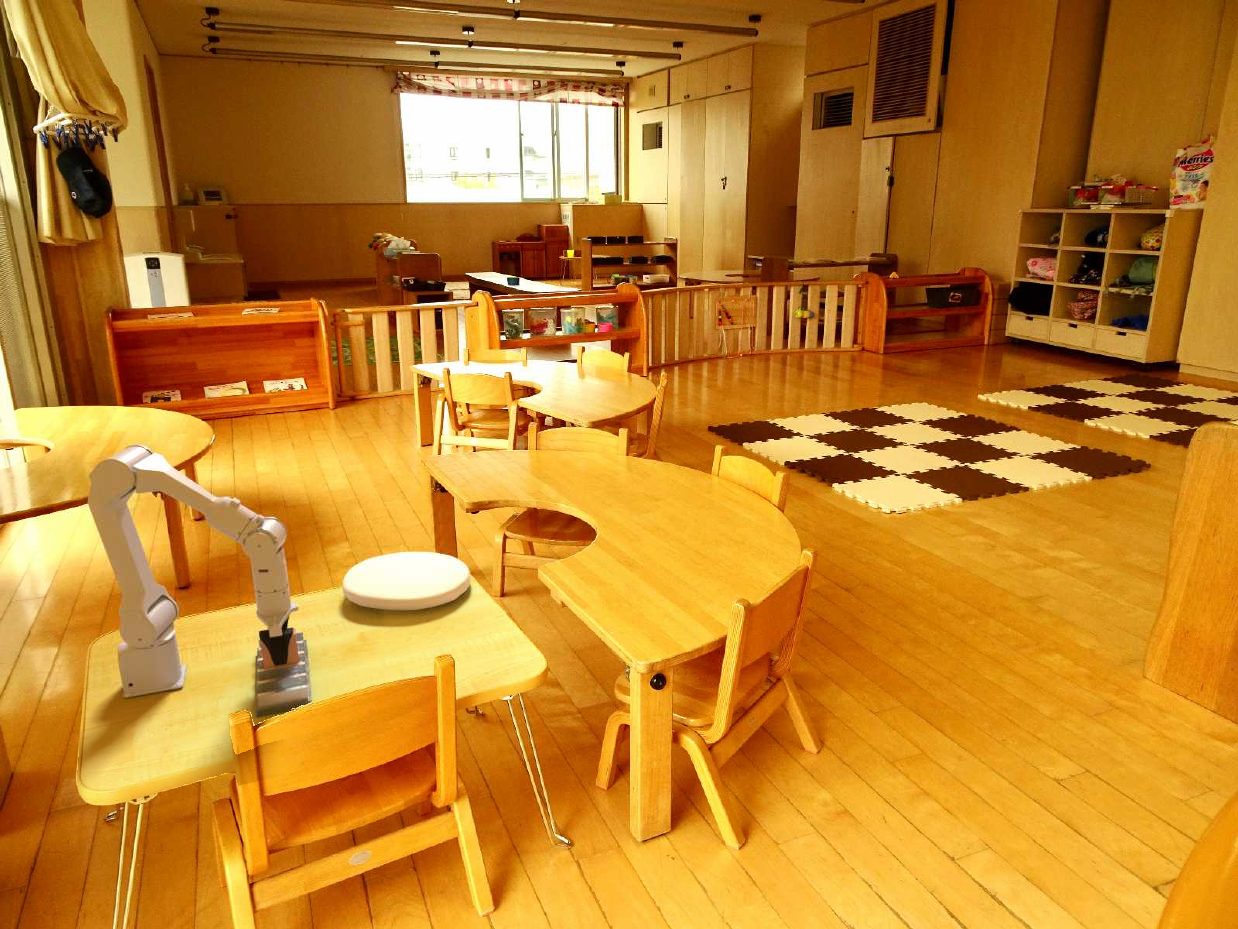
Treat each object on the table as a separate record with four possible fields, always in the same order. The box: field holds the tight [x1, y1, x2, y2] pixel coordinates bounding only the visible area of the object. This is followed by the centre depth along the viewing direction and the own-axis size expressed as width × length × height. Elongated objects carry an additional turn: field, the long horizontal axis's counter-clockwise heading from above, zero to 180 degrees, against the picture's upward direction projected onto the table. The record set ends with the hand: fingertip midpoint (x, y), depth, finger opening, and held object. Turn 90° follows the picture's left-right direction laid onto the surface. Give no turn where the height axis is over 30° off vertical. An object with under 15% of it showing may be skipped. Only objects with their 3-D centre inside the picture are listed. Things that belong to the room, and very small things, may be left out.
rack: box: [255, 630, 313, 718], centre depth 156 cm, size 9×23×4 cm, turn 22°
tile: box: [260, 627, 300, 669], centre depth 155 cm, size 6×2×8 cm, turn 112°
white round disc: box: [342, 551, 472, 611], centre depth 191 cm, size 28×6×27 cm
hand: (280, 654), depth 155 cm, fingers open, 7 cm apart
